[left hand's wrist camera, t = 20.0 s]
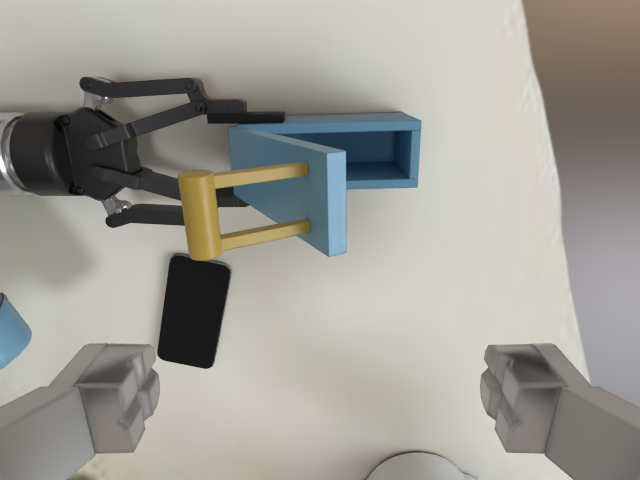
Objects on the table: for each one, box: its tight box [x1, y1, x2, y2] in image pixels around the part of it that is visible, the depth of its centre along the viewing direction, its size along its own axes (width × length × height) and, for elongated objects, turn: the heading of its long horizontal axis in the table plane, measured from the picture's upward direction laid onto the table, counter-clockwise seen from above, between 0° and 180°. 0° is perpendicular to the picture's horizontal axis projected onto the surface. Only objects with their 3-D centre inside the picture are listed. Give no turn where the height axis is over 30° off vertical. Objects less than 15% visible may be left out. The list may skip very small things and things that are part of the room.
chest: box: [236, 112, 421, 189], centre depth 41 cm, size 16×6×9 cm, turn 91°
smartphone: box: [157, 254, 232, 369], centre depth 53 cm, size 7×1×15 cm
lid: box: [178, 126, 346, 261], centre depth 28 cm, size 16×6×8 cm
